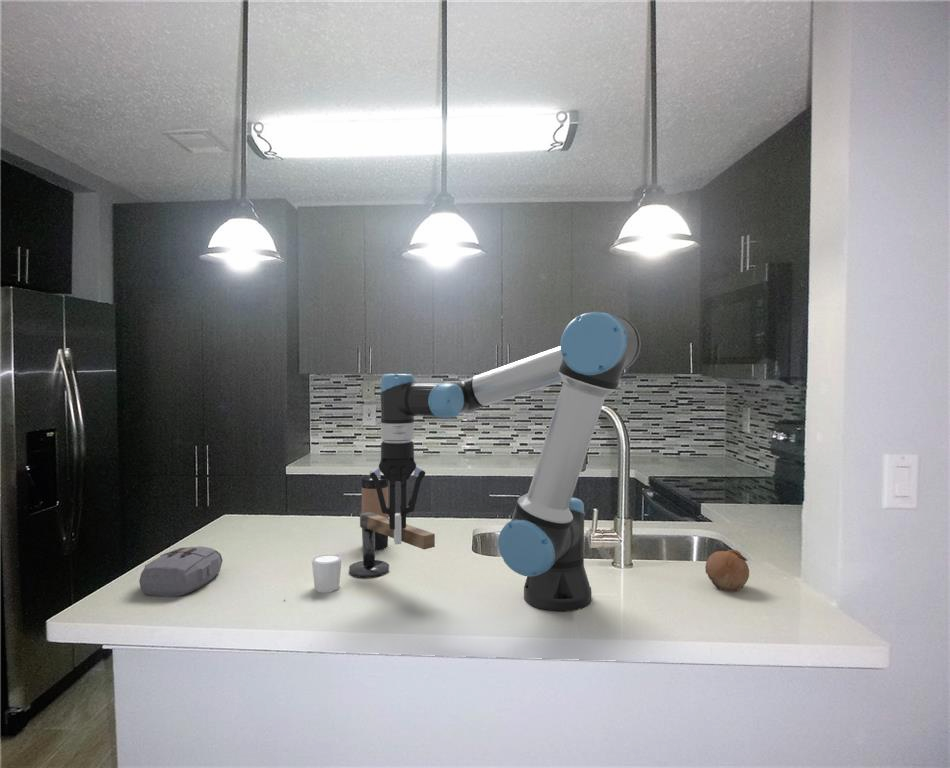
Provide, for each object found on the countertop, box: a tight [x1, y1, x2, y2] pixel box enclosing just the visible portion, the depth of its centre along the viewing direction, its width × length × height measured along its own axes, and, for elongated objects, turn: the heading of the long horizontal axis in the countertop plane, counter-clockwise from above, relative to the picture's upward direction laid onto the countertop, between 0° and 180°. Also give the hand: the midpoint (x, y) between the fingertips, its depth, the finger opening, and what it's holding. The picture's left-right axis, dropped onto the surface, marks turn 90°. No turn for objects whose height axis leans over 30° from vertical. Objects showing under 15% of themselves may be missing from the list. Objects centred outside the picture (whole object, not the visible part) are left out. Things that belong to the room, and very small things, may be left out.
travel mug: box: [361, 475, 389, 551], centre depth 177 cm, size 8×8×20 cm
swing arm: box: [359, 512, 436, 551], centre depth 148 cm, size 27×4×3 cm, turn 42°
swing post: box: [348, 528, 390, 579], centre depth 157 cm, size 10×10×11 cm
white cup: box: [311, 554, 342, 593], centre depth 146 cm, size 7×7×7 cm
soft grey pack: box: [138, 545, 224, 598], centre depth 149 cm, size 15×8×20 cm
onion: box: [705, 549, 750, 592], centre depth 145 cm, size 10×9×10 cm
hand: (397, 542), depth 143 cm, fingers closed
